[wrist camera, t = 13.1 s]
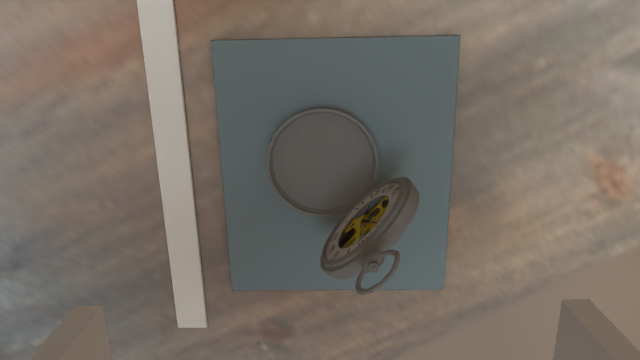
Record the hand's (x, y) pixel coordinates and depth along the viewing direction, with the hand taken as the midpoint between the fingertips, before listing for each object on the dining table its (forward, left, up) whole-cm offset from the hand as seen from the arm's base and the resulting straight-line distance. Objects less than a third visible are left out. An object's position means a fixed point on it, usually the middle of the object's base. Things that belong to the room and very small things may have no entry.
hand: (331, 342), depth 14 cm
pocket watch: (0, 0, -17) cm, 17 cm away
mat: (0, 0, -17) cm, 17 cm away
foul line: (-10, 0, -17) cm, 20 cm away
